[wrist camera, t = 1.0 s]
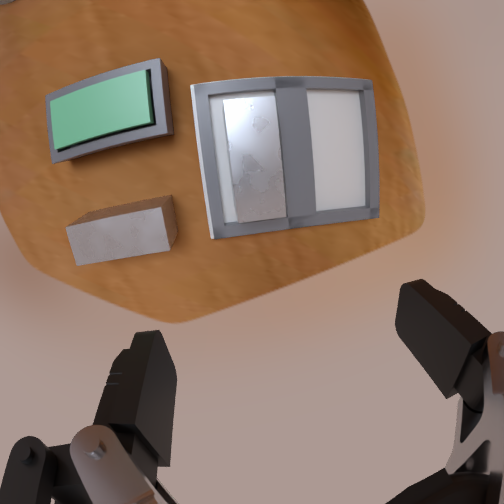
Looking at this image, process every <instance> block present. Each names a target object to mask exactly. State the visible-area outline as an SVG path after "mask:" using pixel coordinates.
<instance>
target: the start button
mask: <svg viewBox="0 0 504 504" xmlns="http://www.w3.org/2000/svg"><path fill="white" fill-rule="evenodd" d="M50 108H51V121H52V131H53V140H54V148H55V150H57V149H63V148H66V147H69V146H72V145H75V144H78V143H81V142H84V141H87V140H91V139H94V138H97V137H101V136H104V135H108V134H111V133H115V132H119V131H123V130H127V129H131V128H135V127H139V126H143V125H148V124H153V123H154V118H153V110H152V100H151V90H150V79H149V73H148V72H147V71H146V70H142V71H138V72H134V73H130V74H126V75H123V76H119V77H116V78H113V79H109V80H106V81H103V82H100V83H97V84H94V85H91V86H88V87H85V88H82V89H80V90H77V91H74V92H72V93H69V94H67V95H64V96H62V97H59V98H57V99H55V100H52V101H50Z"/></svg>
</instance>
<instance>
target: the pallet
mask: <svg viewBox="0 0 504 504" xmlns="http://www.w3.org/2000/svg"><path fill="white" fill-rule="evenodd" d="M190 87H191V96H192V105H193V114H194V122H195V130H196V138H197V146H198V154H199V161H200V168H201V176H202V183H203V190H204V196H205V203H206V210H207V216H208V223H209V229H210V235H211V239H220V238H227V237H234V236H241V235H249V234H256V233H263V232H270V231H278V230H285V229H293V228H300V227H308V226H316V225H324V224H332V223H340V222H348V221H356V220H364V219H373V218H379V153H378V135H377V122H376V110H375V101H374V92H373V84H372V80H367V79H356V78H342V77H320V76H282V77H259V78H245V79H234V80H225V81H216V82H209V83H201V84H195V85H190ZM266 96H275V101H276V110H277V119H278V128H279V138H280V148H281V159H282V170H283V181H284V193H285V205H286V217H281V218H273V219H266V220H258V221H251V222H243V223H238V220H237V216H236V212H235V209H234V202H233V194H232V186H231V178H230V170H229V162H228V154H227V146H226V137H225V129H224V120H223V112H222V107H223V100H231V99H241V98H252V97H266Z"/></svg>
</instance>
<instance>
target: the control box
mask: <svg viewBox="0 0 504 504" xmlns="http://www.w3.org/2000/svg"><path fill="white" fill-rule="evenodd" d="M142 70H146V71H147V72H148V73H149V79H150V90H151V100H152V110H153V118H154V123H153V124H148V125H143V126H139V127H135V128H131V129H127V130H123V131H119V132H115V133H111V134H108V135H104V136H101V137H97V138H94V139H91V140H87V141H84V142H81V143H78V144H75V145H72V146H69V147H66V148H63V149H57V150H55V148H54V140H53V131H52V121H51V108H50V101H52V100H55V99H57V98H59V97H62V96H64V95H67V94H69V93H72V92H74V91H77V90H80V89H82V88H85V87H88V86H91V85H94V84H97V83H100V82H103V81H106V80H109V79H113V78H116V77H119V76H123V75H126V74H130V73H134V72H138V71H142ZM45 97H46V114H47V126H48V136H49V145H50V152H51V159H52V164H54V163H59V162H64V161H69V160H72V159H76V158H79V157H82V156H85V155H89V154H92V153H96V152H99V151H103V150H107V149H110V148H114V147H118V146H122V145H126V144H130V143H135V142H139V141H143V140H148V139H153V138H158V137H162V136H168V135H173V134H174V130H173V121H172V113H171V104H170V95H169V85H168V74H167V68H166V66H165V65H164V63H163V62H162V60H161V59H160V58H157V59H153V60H148V61H144V62H140V63H136V64H132V65H129V66H125V67H122V68H118V69H115V70H111V71H108V72H105V73H102V74H99V75H96V76H93V77H90V78H87V79H85V80H82V81H79V82H77V83H74V84H71V85H69V86H66V87H64V88H62V89H59V90H57V91H55V92H52V93H50V94H48V95H46V96H45Z"/></svg>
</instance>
